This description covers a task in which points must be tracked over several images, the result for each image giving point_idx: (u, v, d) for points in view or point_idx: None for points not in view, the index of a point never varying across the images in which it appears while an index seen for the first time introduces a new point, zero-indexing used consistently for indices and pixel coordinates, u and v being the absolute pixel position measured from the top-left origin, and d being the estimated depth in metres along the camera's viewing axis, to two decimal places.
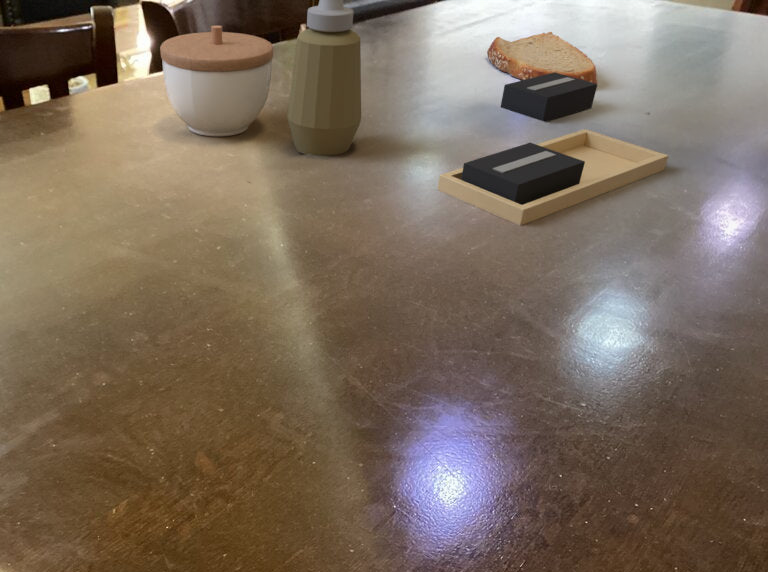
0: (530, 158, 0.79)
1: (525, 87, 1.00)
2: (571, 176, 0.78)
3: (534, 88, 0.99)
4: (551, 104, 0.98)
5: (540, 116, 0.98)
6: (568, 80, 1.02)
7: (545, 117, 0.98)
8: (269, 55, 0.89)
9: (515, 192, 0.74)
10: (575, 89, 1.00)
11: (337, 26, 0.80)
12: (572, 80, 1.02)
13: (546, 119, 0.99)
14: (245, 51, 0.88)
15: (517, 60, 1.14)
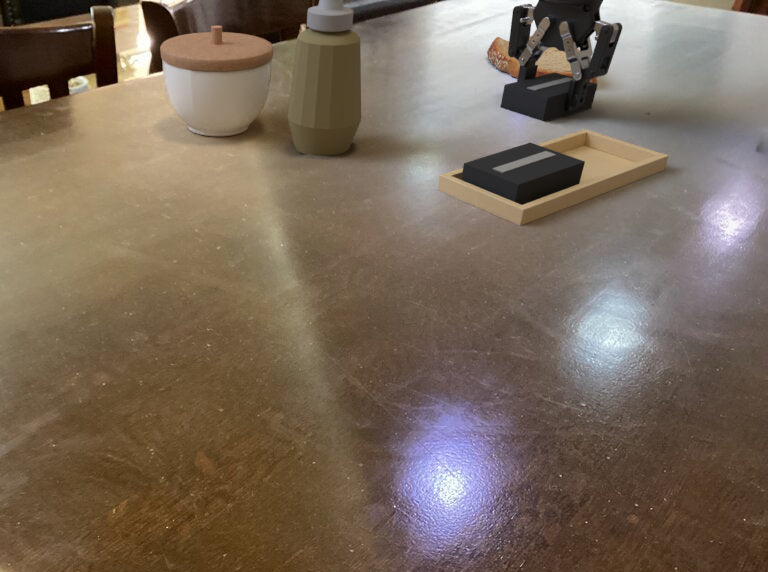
0: (530, 158, 0.79)
1: (525, 87, 1.00)
2: (571, 176, 0.78)
3: (534, 88, 0.99)
4: (551, 104, 0.98)
5: (540, 116, 0.98)
6: (568, 80, 1.02)
7: (545, 117, 0.98)
8: (269, 55, 0.89)
9: (515, 192, 0.74)
10: None
11: (337, 26, 0.80)
12: None
13: (546, 119, 0.99)
14: (245, 51, 0.88)
15: (517, 60, 1.14)
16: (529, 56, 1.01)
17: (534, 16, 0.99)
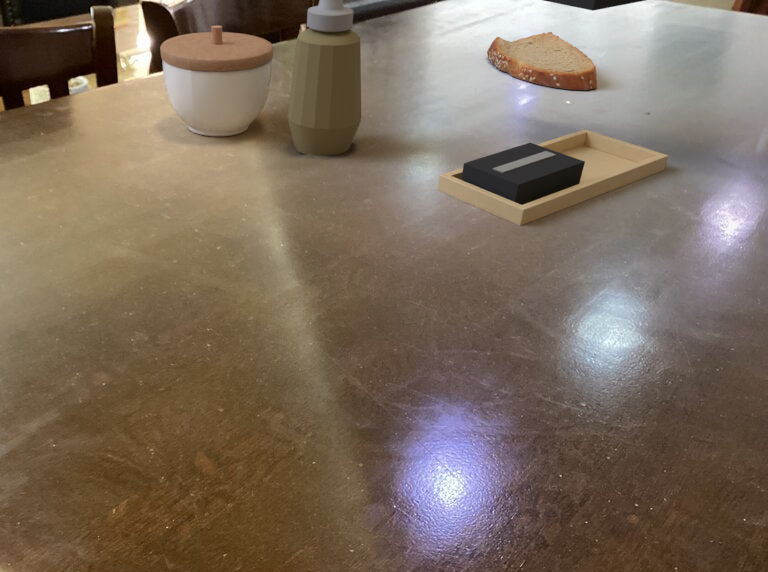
0: (530, 158, 0.79)
1: None
2: (571, 176, 0.78)
3: None
4: None
5: (590, 3, 0.81)
6: None
7: (596, 4, 0.81)
8: (269, 55, 0.89)
9: (515, 192, 0.74)
10: None
11: (337, 26, 0.80)
12: None
13: (598, 7, 0.81)
14: (245, 51, 0.88)
15: (517, 60, 1.14)
16: None
17: None
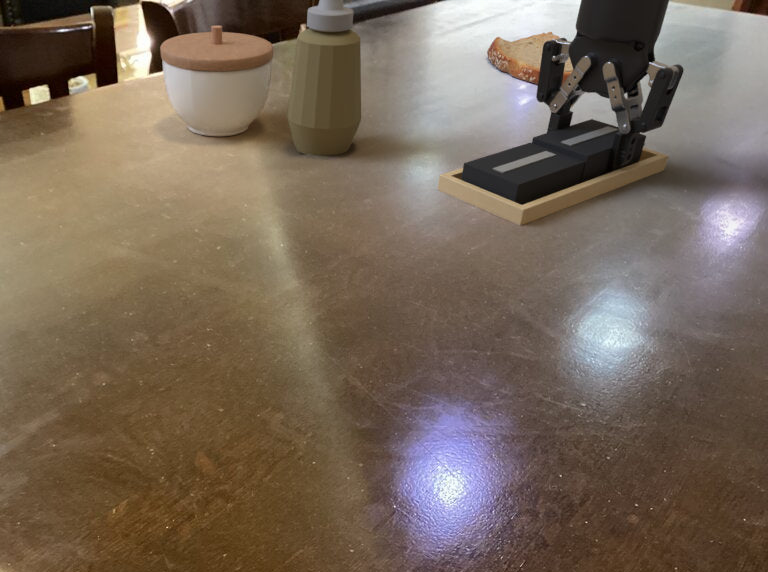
0: (530, 158, 0.79)
1: (558, 141, 0.81)
2: (571, 176, 0.78)
3: (570, 142, 0.81)
4: (591, 163, 0.79)
5: None
6: (610, 130, 0.84)
7: (584, 179, 0.80)
8: (269, 55, 0.89)
9: (515, 192, 0.74)
10: None
11: (337, 26, 0.80)
12: (615, 130, 0.84)
13: (585, 181, 0.80)
14: (245, 51, 0.88)
15: (517, 60, 1.14)
16: (563, 102, 0.82)
17: (570, 54, 0.80)
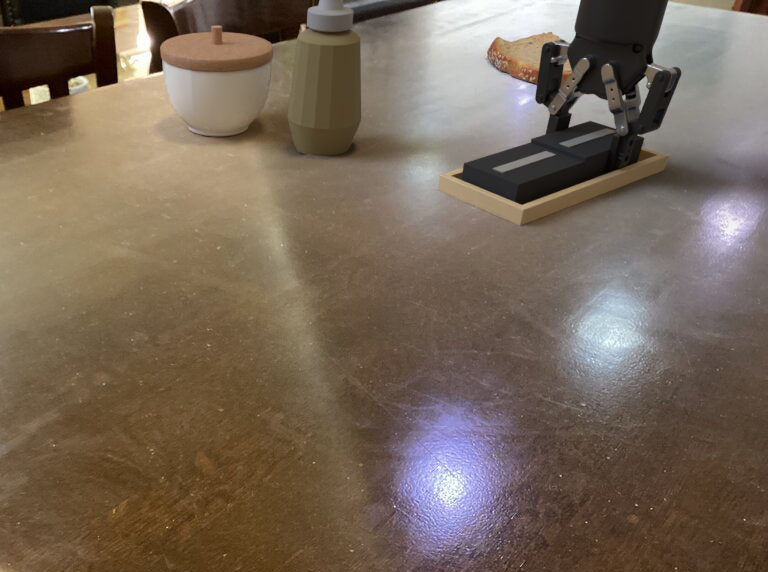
0: (530, 158, 0.79)
1: (557, 142, 0.81)
2: (571, 176, 0.78)
3: (568, 144, 0.81)
4: (589, 164, 0.79)
5: None
6: (608, 132, 0.84)
7: (582, 181, 0.80)
8: (269, 55, 0.89)
9: (515, 192, 0.74)
10: None
11: (337, 26, 0.80)
12: (613, 132, 0.84)
13: None
14: (245, 51, 0.88)
15: (517, 60, 1.14)
16: (562, 104, 0.83)
17: (569, 55, 0.80)
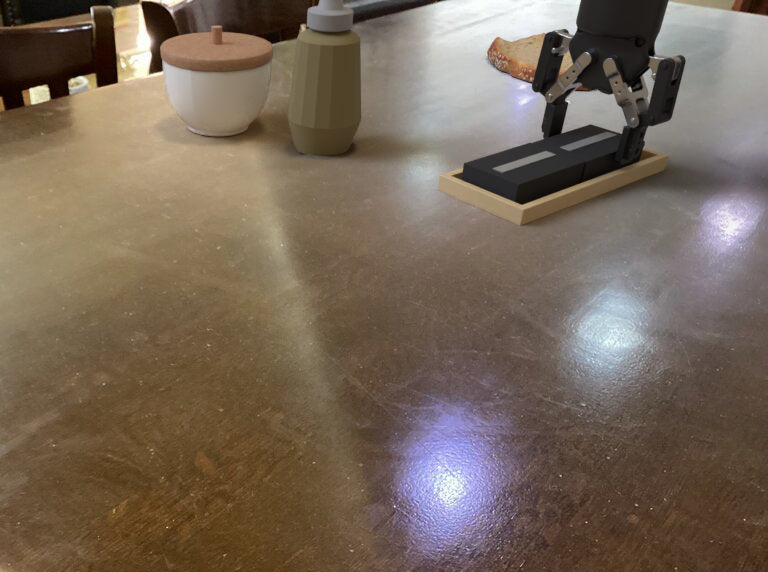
0: (530, 158, 0.79)
1: (558, 146, 0.82)
2: (571, 176, 0.78)
3: (569, 148, 0.81)
4: (590, 168, 0.79)
5: None
6: (609, 136, 0.84)
7: None
8: (269, 55, 0.89)
9: (515, 192, 0.74)
10: None
11: (337, 26, 0.80)
12: (614, 136, 0.84)
13: None
14: (245, 51, 0.88)
15: (517, 60, 1.14)
16: (558, 92, 0.82)
17: (570, 50, 0.80)
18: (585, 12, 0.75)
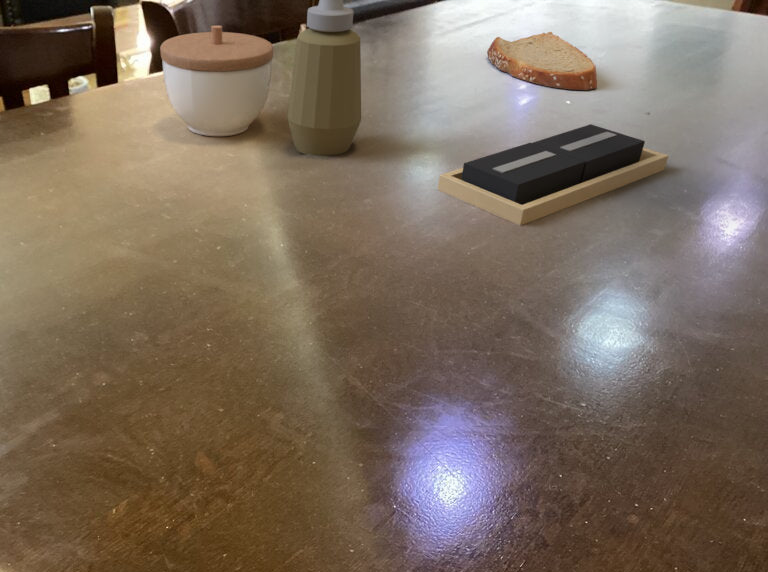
0: (530, 158, 0.79)
1: (558, 146, 0.82)
2: (571, 176, 0.78)
3: (569, 148, 0.81)
4: (590, 168, 0.79)
5: None
6: (609, 136, 0.84)
7: None
8: (269, 55, 0.89)
9: (515, 192, 0.74)
10: (618, 148, 0.81)
11: (337, 26, 0.80)
12: (614, 136, 0.84)
13: None
14: (245, 51, 0.88)
15: (517, 60, 1.14)
16: None
17: None
18: None
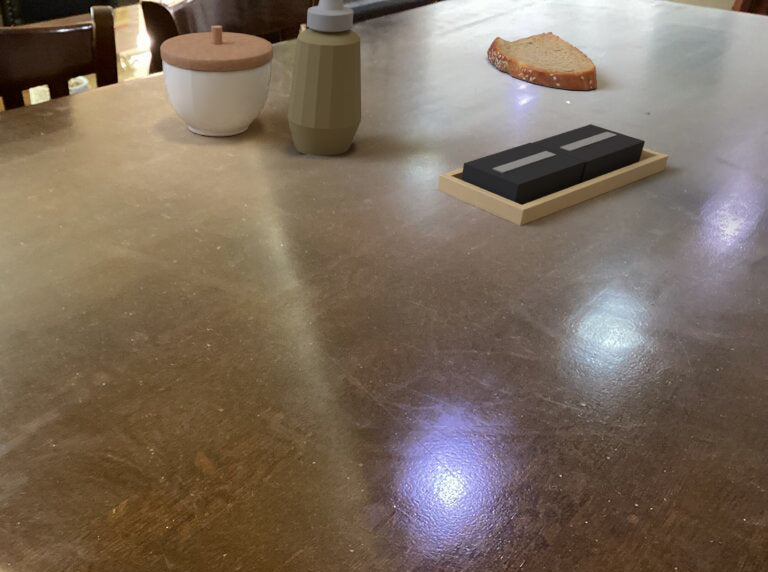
0: (530, 158, 0.79)
1: (558, 146, 0.82)
2: (571, 176, 0.78)
3: (569, 148, 0.81)
4: (590, 168, 0.79)
5: None
6: (609, 136, 0.84)
7: None
8: (269, 55, 0.89)
9: (515, 192, 0.74)
10: (618, 148, 0.81)
11: (337, 26, 0.80)
12: (614, 136, 0.84)
13: None
14: (245, 51, 0.88)
15: (517, 60, 1.14)
16: None
17: None
18: None
